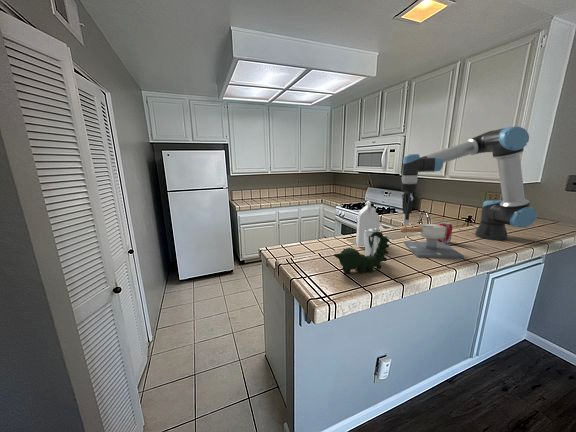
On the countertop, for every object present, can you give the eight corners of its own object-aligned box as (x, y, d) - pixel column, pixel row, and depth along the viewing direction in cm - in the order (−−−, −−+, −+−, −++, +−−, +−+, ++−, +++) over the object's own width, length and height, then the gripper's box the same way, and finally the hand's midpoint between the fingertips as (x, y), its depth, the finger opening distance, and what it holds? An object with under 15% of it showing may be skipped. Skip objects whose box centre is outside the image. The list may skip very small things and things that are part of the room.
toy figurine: (377, 267, 108) (328, 268, 104) (382, 229, 105) (331, 228, 100) (389, 276, 99) (336, 277, 95) (395, 234, 96) (340, 234, 91)
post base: (442, 244, 131) (443, 231, 130) (463, 258, 111) (465, 243, 109) (403, 243, 135) (404, 230, 133) (417, 257, 114) (418, 242, 113)
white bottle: (438, 233, 125) (439, 224, 124) (448, 239, 115) (450, 229, 114) (397, 232, 129) (397, 223, 128) (403, 238, 118) (404, 228, 117)
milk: (356, 241, 143) (357, 200, 137) (375, 241, 140) (377, 200, 135) (357, 247, 131) (359, 203, 126) (378, 248, 129) (381, 203, 124)
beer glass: (377, 261, 111) (379, 232, 107) (362, 260, 113) (363, 231, 110) (377, 256, 117) (378, 228, 114) (363, 255, 119) (364, 227, 116)
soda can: (453, 243, 132) (455, 224, 129) (441, 244, 132) (443, 224, 129) (445, 240, 138) (447, 221, 136) (433, 240, 139) (435, 221, 136)
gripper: (398, 182, 131) (395, 222, 136) (405, 184, 119) (402, 227, 124) (412, 182, 130) (408, 222, 135) (421, 183, 118) (417, 227, 122)
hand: (405, 224), depth 129 cm, fingers closed
